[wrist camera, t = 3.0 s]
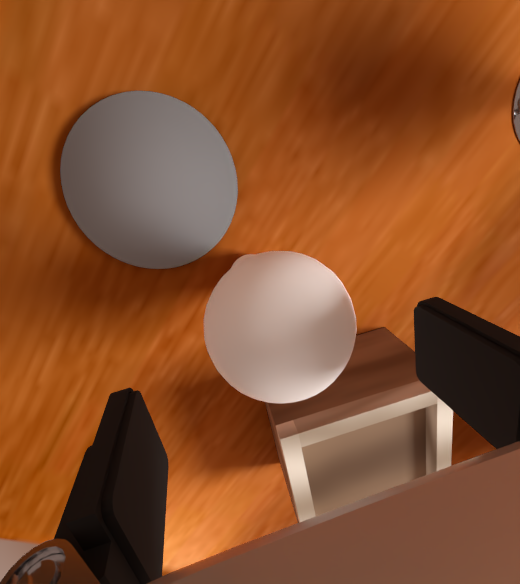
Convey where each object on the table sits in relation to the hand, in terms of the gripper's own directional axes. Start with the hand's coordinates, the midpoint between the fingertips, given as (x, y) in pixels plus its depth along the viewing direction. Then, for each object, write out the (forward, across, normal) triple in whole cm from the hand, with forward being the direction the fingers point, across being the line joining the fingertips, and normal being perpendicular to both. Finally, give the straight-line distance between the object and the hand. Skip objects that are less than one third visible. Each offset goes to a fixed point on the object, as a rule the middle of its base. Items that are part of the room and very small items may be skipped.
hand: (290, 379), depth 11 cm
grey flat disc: (+11, +3, -6) cm, 13 cm away
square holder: (+11, -5, +12) cm, 17 cm away
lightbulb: (+11, -1, 0) cm, 11 cm away
